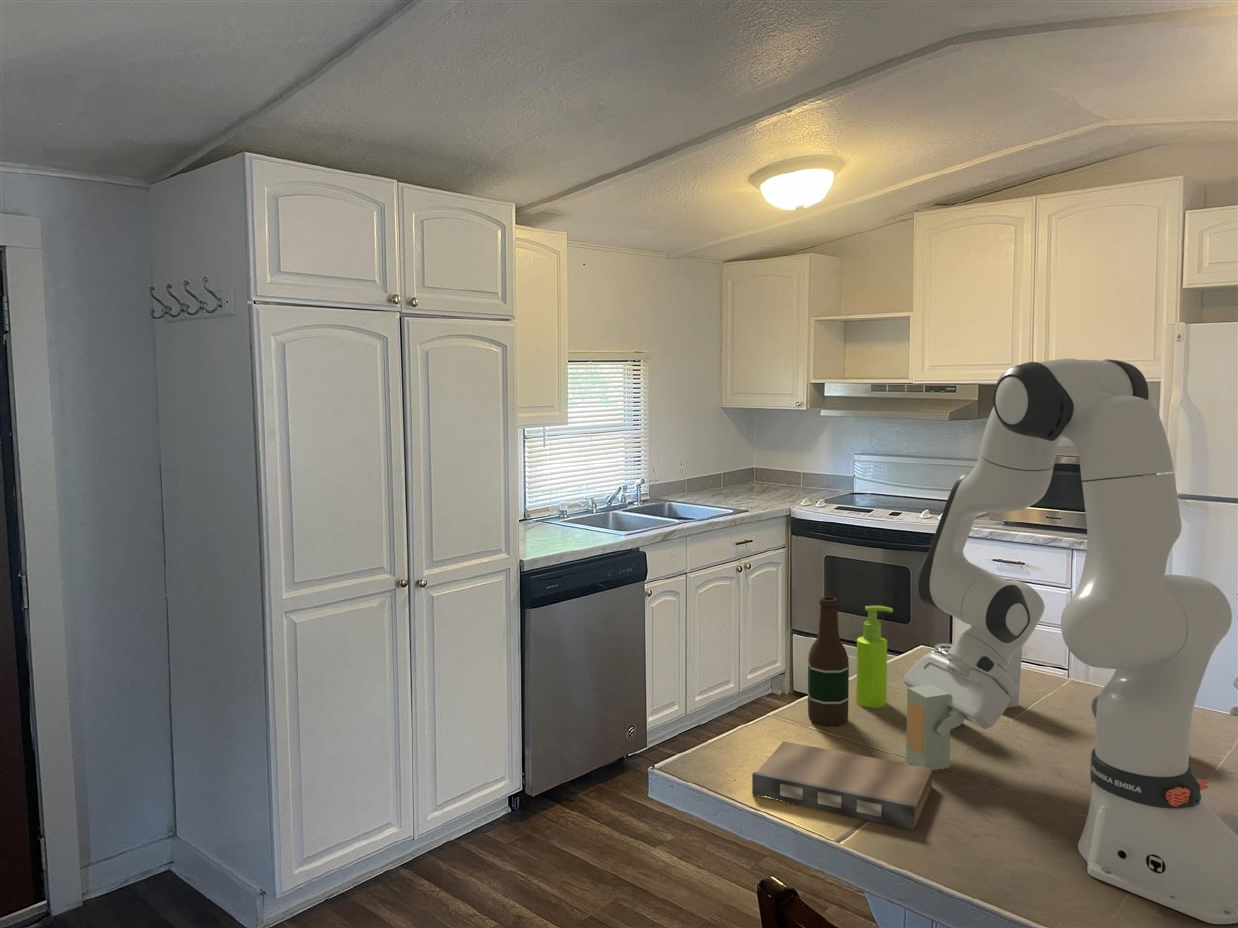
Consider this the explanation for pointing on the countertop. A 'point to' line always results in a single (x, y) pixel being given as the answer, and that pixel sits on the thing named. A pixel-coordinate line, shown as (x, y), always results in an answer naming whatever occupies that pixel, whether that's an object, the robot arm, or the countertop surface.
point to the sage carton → (927, 727)
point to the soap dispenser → (872, 662)
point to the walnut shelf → (845, 784)
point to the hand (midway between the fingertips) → (925, 725)
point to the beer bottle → (828, 670)
